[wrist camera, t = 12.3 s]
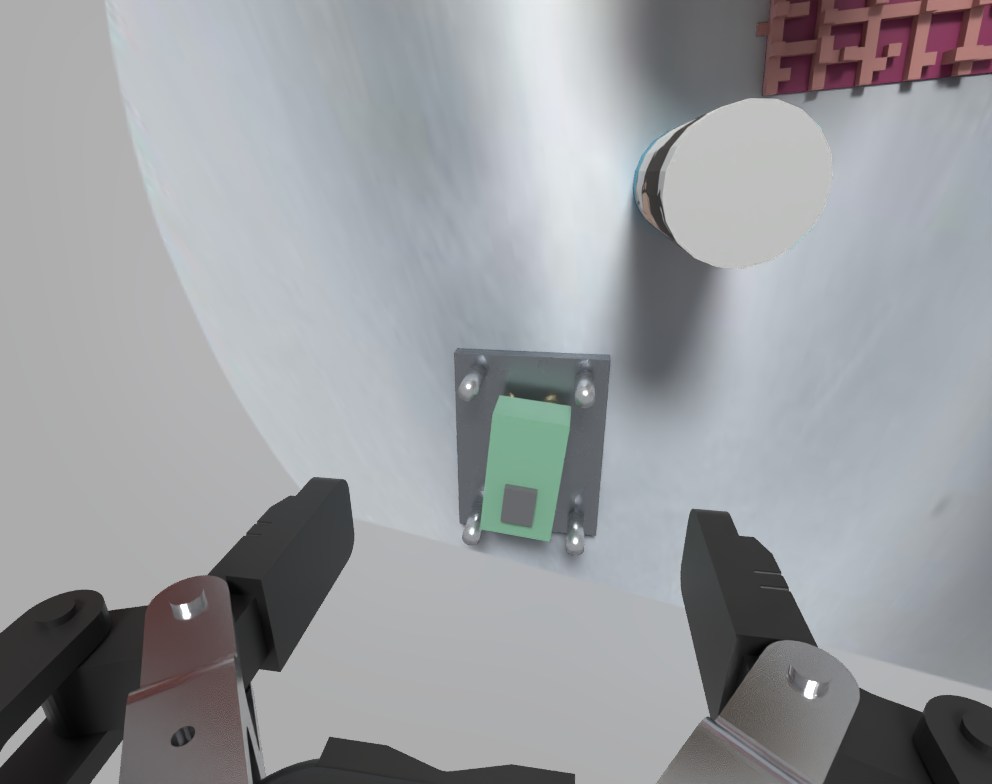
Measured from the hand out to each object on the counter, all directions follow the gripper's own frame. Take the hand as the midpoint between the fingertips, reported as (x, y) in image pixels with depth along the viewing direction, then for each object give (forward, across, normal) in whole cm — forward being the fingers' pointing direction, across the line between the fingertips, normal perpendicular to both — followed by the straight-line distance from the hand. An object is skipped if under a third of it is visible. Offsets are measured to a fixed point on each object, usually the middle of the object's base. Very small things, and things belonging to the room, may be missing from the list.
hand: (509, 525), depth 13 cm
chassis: (+30, +2, +14) cm, 33 cm away
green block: (+27, +2, +14) cm, 31 cm away
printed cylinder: (+30, -8, -7) cm, 32 cm away
